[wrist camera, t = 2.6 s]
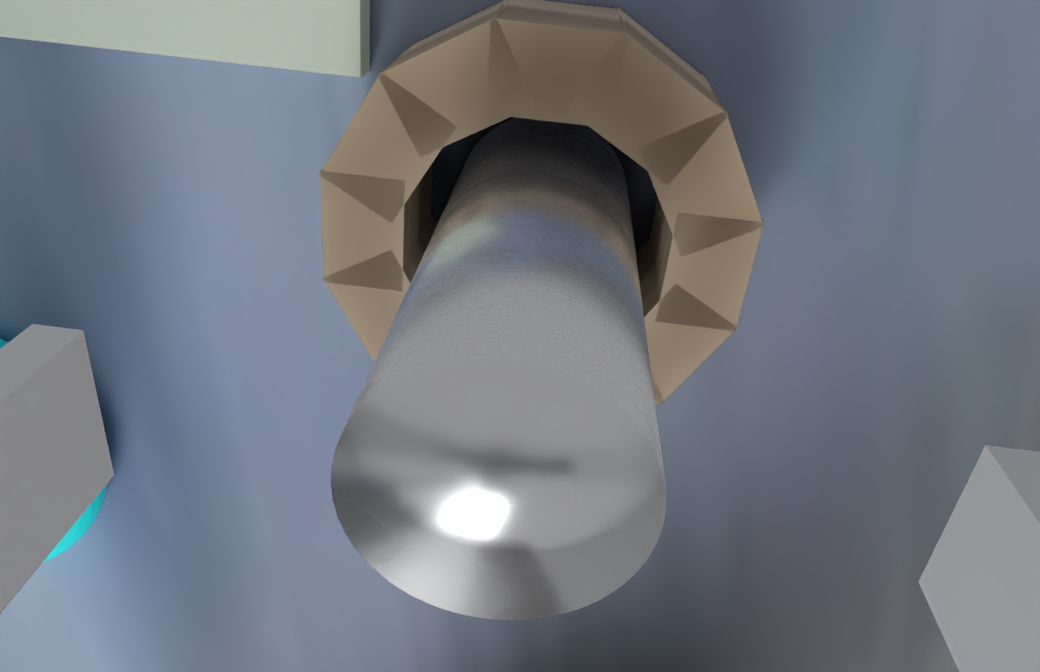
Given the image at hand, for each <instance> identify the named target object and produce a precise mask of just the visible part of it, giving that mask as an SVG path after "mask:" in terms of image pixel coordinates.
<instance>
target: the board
mask: <svg viewBox="0 0 1040 672" xmlns="http://www.w3.org/2000/svg"><path fill="white" fill-rule="evenodd" d="M0 37H9V38H18V39H26V40H35V41H44V42H53V43H62V44H70V45H79V46H88V47H97V48H105V49H114V50H123V51H132V52H141V53H149V54H158V55H167V56H176V57H184V58H193V59H202V60H211V61H219V62H228V63H237V64H246V65H255V66H263V67H272V68H281V69H290V70H298V71H307V72H316V73H325V74H334V75H342V76H351V77H360V78H361V77H362V76H363V75H364V74H366V73H367V72H368V71H369V70H370V0H0Z"/></svg>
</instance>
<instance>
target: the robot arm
mask: <svg viewBox="0 0 1040 672" xmlns="http://www.w3.org/2000/svg"><path fill="white" fill-rule="evenodd" d="M113 476H114V472H113V467H112V463H111V458H110V453H109V448H108V444H107V439H106V434H105V430H104V425H103V420H102V416H101V411H100V406H99V401H98V397H97V392H96V387H95V383H94V378H93V373H92V369H91V364H90V359H89V354H88V350H87V345H86V340H85V336H84V331H83V330H77V329H69V328H61V327H54V326H46V325H38V324H32V325H30V326H29V327H28V328H27V329H25V330H24V331H23V332H21V333H20V334H19V335H17V336H16V337H15V338H14V339H12V340H11V341H10V342H8V343H7V344H6V345H5V346H3V347H2V348H1V349H0V614H1V612H2V611H3V610H4V609H5V608H6V606H7V605H8V604H9V603H10V602H11V600H12V599H13V598H14V597H15V595H16V594H17V593H18V592H19V591H20V589H21V588H22V587H23V586H24V584H25V583H26V582H27V581H28V580H29V578H30V577H31V576H32V575H33V574H34V572H35V571H36V570H37V569H38V567H39V566H40V565H41V564H42V563H43V561H44V560H45V559H46V558H47V556H48V555H49V554H50V553H51V552H52V550H53V549H54V548H55V547H56V546H57V544H58V543H59V542H60V541H61V539H62V538H63V537H64V536H65V535H66V533H67V532H68V531H69V530H70V528H71V527H72V526H73V525H74V524H75V522H76V521H77V520H78V519H79V518H80V516H81V515H82V514H83V513H84V511H85V510H86V509H87V508H88V507H89V505H90V504H91V503H92V502H93V500H94V499H95V498H96V497H97V496H98V494H99V493H100V492H101V491H102V490H103V488H104V487H105V486H106V485H107V483H108V482H109V481H110V480H111V479H112V477H113ZM919 584H920V586H921V589H922V591H923V593H924V595H925V597H926V600H927V602H928V604H929V606H930V608H931V611H932V613H933V615H934V617H935V619H936V622H937V624H938V626H939V628H940V630H941V633H942V635H943V637H944V639H945V641H946V643H947V646H948V648H949V650H950V652H951V654H952V657H953V659H954V661H955V663H956V665H957V668H958V670H959V672H1040V452H1036V451H1028V450H1020V449H1012V448H1004V447H996V446H988V445H985V447H984V449H983V451H982V453H981V456H980V458H979V460H978V462H977V464H976V466H975V468H974V470H973V472H972V474H971V476H970V478H969V480H968V482H967V484H966V486H965V488H964V490H963V492H962V494H961V496H960V498H959V500H958V502H957V504H956V506H955V508H954V510H953V513H952V515H951V517H950V519H949V521H948V523H947V525H946V527H945V529H944V531H943V533H942V535H941V537H940V539H939V541H938V543H937V545H936V547H935V549H934V551H933V553H932V555H931V557H930V559H929V561H928V563H927V565H926V568H925V570H924V572H923V574H922V576H921V578H920V580H919Z"/></svg>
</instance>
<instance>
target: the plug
mask: <svg viewBox="0 0 1040 672" xmlns="http://www.w3.org/2000/svg"><path fill="white" fill-rule="evenodd" d="M331 487H332V496H333V502H334V505H335V509H336V512H337V516H338V518H339V520H340V523H341V525H342V527H343V529H344V531H345V533H346V535H347V536H348V538H349V539H350V541H351V543H352V544H353V546H354V547H355V548H356V550H357V551H358V552H359V553H360V555H361V556H362V557H363V558H364V559H365V561H366V562H367V563H369V564H370V565H371V566H372V567H373V568H374V569H375V570H376V571H377V572H378V573H379V574H380V575H382V576H383V577H384V578H386V579H387V580H388V581H389V582H391V583H392V584H393V585H395V586H397V587H398V588H400V589H401V590H403V591H405V592H406V593H408V594H410V595H412V596H414V597H416V598H418V599H420V600H422V601H424V602H426V603H428V604H431V605H434V606H436V607H439V608H442V609H445V610H448V611H451V612H455V613H459V614H463V615H467V616H473V617H479V618H484V619H496V620H529V619H538V618H546V617H551V616H556V615H561V614H564V613H568V612H571V611H574V610H577V609H581V608H583V607H585V606H587V605H590V604H592V603H594V602H597V601H599V600H600V599H602V598H604V597H606V596H607V595H609V594H611V593H612V592H614V591H615V590H617V589H618V588H619V587H621V586H622V585H623V584H625V583H626V582H627V581H628V580H629V579H630V578H631V577H632V576H633V575H634V574H635V573H636V572H637V571H638V570H639V569H640V568H641V567H642V566H643V564H644V563H645V562H646V560H647V559H648V558H649V556H650V555H651V553H652V551H653V549H654V547H655V546H656V544H657V542H658V540H659V537H660V534H661V531H662V528H663V525H664V520H665V514H666V507H667V504H666V484H665V476H664V468H663V461H662V453H661V445H660V437H659V430H658V422H657V414H656V406H655V399H654V391H653V383H652V375H651V368H650V360H649V352H648V344H647V337H646V329H645V321H644V313H643V306H642V298H641V290H640V282H639V275H638V267H637V259H636V251H635V244H634V236H633V228H632V220H631V213H630V205H629V197H628V189H627V183H626V177H625V173H624V170H623V167H622V164H621V162H620V160H619V158H618V156H617V154H616V153H615V151H614V150H613V148H612V147H611V146H610V144H609V143H608V142H607V141H606V140H605V139H604V138H603V137H602V136H601V135H599V134H598V133H597V132H595V131H594V130H593V129H591V128H590V127H589V126H586V125H577V124H569V123H560V122H551V121H542V120H534V119H525V118H516V117H515V118H512V119H510V120H507V121H505V122H503V123H501V124H499V125H498V126H496V127H495V128H493V129H492V130H491V131H489V132H488V133H487V134H486V135H485V136H484V137H483V138H482V139H481V140H480V141H479V142H478V143H477V144H476V146H475V147H474V148H473V150H472V152H471V153H470V155H469V157H468V159H467V161H466V163H465V165H464V167H463V170H462V172H461V174H460V176H459V178H458V180H457V183H456V185H455V187H454V189H453V191H452V194H451V196H450V198H449V200H448V202H447V205H446V207H445V209H444V211H443V213H442V216H441V218H440V220H439V222H438V224H437V226H436V229H435V231H434V233H433V235H432V237H431V240H430V242H429V244H428V246H427V248H426V251H425V253H424V255H423V257H422V259H421V262H420V264H419V266H418V268H417V270H416V273H415V275H414V277H413V279H412V281H411V283H410V286H409V288H408V290H407V292H406V294H405V297H404V299H403V301H402V303H401V305H400V308H399V310H398V312H397V314H396V316H395V319H394V321H393V323H392V325H391V327H390V329H389V332H388V334H387V336H386V338H385V340H384V343H383V345H382V347H381V349H380V351H379V354H378V356H377V358H376V360H375V362H374V365H373V367H372V369H371V371H370V373H369V376H368V378H367V380H366V382H365V384H364V386H363V389H362V391H361V393H360V395H359V397H358V400H357V402H356V404H355V406H354V408H353V411H352V413H351V415H350V417H349V419H348V422H347V424H346V426H345V428H344V430H343V432H342V435H341V437H340V440H339V442H338V444H337V447H336V450H335V454H334V458H333V463H332V472H331Z"/></svg>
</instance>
